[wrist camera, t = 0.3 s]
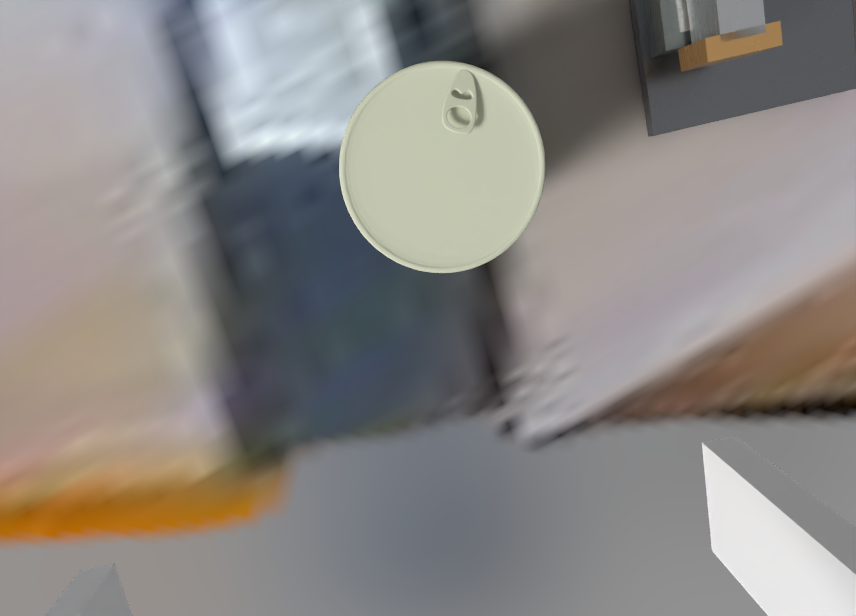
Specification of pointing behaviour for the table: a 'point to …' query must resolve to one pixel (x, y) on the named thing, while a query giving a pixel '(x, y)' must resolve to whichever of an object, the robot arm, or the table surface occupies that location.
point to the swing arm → (727, 32)
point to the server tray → (742, 63)
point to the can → (442, 166)
